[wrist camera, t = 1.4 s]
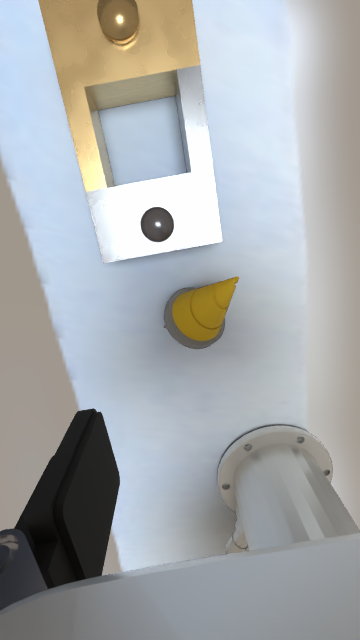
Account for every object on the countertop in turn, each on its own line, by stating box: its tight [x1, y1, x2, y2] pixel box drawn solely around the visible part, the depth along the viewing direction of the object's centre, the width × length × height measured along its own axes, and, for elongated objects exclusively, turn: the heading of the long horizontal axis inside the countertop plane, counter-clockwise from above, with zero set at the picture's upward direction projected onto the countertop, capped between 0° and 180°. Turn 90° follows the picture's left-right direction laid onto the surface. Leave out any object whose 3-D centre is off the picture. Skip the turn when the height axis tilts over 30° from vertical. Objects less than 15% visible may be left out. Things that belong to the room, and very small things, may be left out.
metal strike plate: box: [38, 0, 222, 263], centre depth 22 cm, size 16×9×5 cm, turn 10°
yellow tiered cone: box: [164, 277, 239, 349], centre depth 24 cm, size 5×5×10 cm
